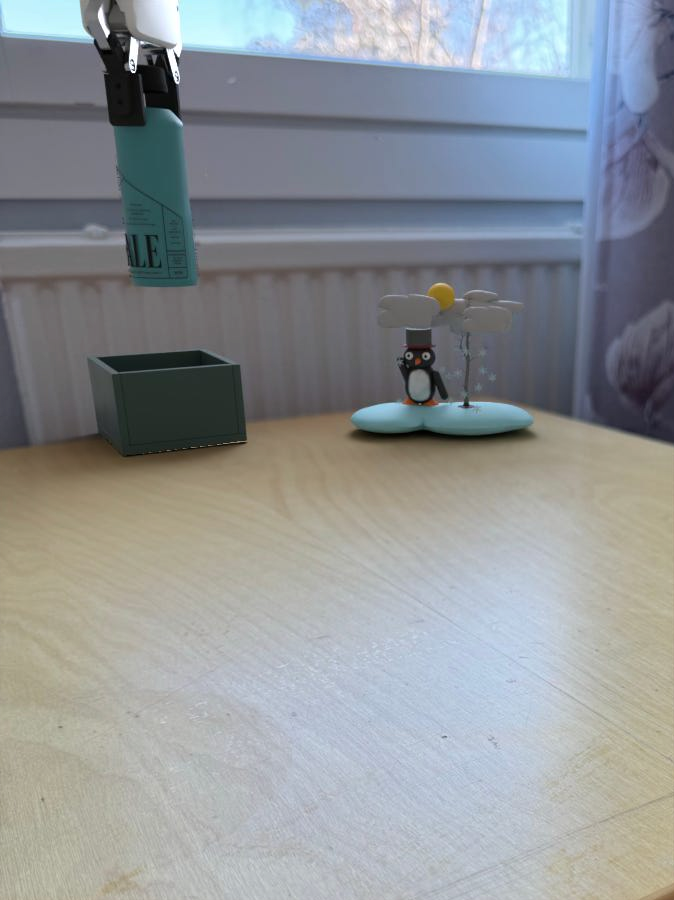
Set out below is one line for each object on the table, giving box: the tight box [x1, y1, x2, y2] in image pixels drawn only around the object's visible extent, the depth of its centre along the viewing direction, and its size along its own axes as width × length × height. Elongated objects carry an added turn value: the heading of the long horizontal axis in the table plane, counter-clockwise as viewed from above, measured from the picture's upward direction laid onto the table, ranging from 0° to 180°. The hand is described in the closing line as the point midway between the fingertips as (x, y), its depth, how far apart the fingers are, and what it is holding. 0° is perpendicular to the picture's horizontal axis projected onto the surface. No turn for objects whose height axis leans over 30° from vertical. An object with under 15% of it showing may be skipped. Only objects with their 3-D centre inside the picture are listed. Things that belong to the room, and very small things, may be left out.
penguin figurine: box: [350, 282, 535, 436], centre depth 107 cm, size 20×11×15 cm, turn 87°
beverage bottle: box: [112, 63, 200, 288], centre depth 93 cm, size 6×7×20 cm
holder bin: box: [86, 348, 248, 457], centre depth 105 cm, size 13×13×8 cm
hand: (147, 126), depth 91 cm, fingers closed on beverage bottle, 6 cm apart
